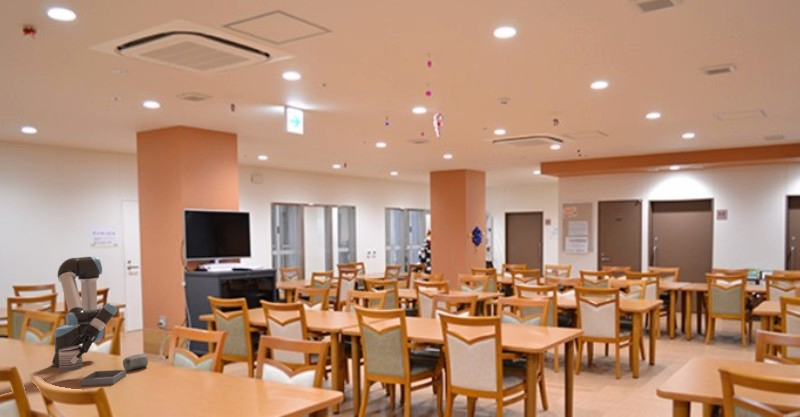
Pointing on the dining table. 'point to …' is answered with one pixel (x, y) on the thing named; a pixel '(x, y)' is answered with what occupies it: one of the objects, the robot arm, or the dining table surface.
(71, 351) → the can
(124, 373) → the tray
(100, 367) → the dining table surface
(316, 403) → the dining table surface
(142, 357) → the spool
